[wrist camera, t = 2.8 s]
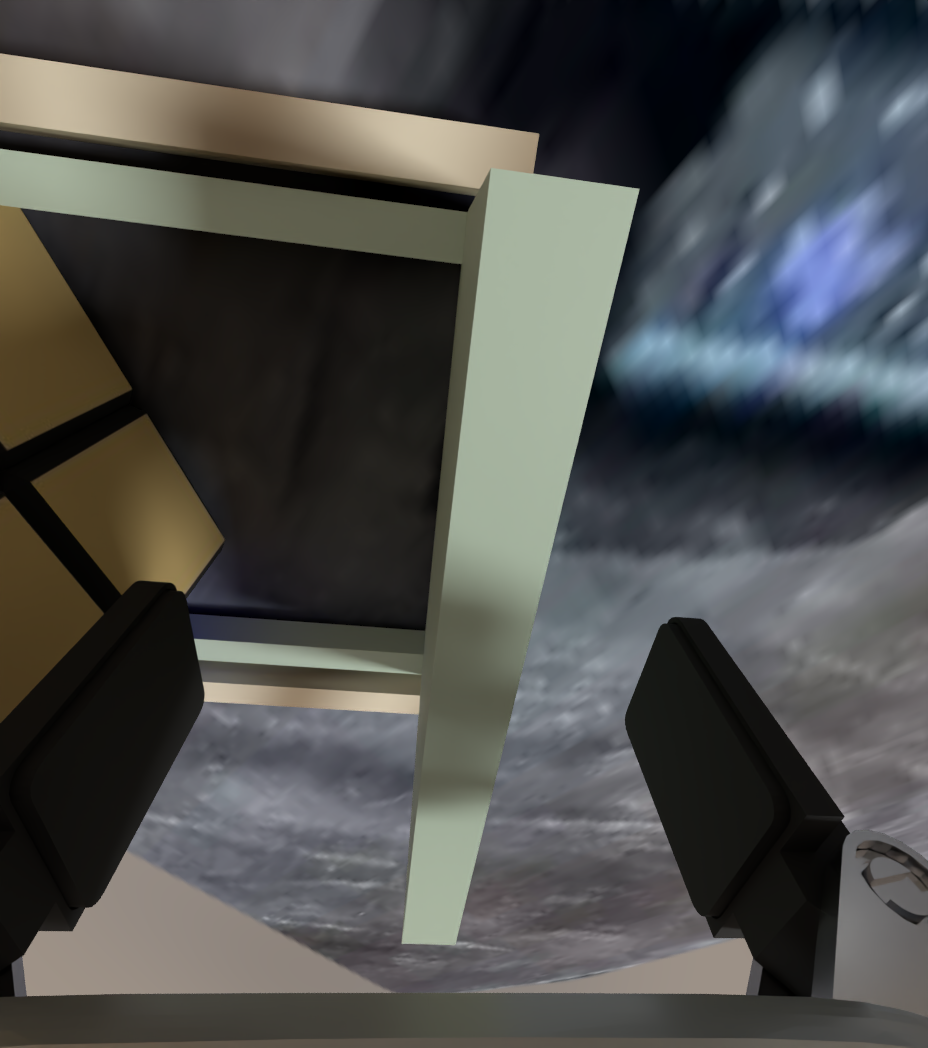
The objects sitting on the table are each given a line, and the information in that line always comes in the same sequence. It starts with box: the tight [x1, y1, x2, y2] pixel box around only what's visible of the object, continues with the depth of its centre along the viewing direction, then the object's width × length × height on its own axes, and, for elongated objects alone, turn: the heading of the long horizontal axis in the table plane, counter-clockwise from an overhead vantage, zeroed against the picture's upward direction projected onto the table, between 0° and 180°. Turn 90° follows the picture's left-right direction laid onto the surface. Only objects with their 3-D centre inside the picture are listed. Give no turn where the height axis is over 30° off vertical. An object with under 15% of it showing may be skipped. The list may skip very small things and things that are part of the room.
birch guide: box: [0, 54, 539, 714], centre depth 14 cm, size 23×17×2 cm
